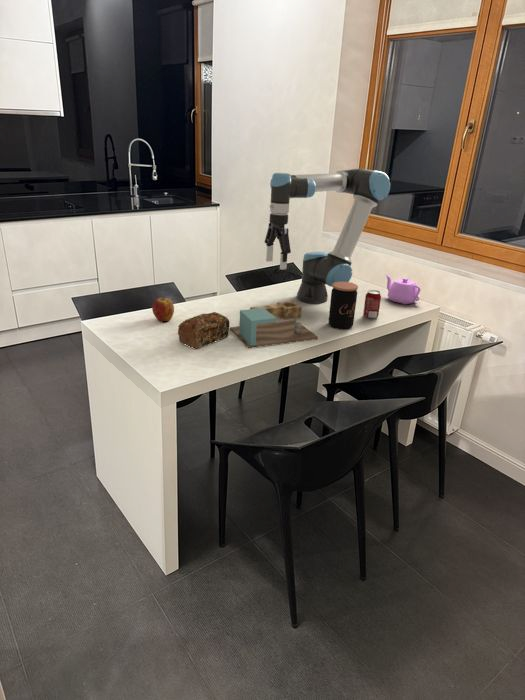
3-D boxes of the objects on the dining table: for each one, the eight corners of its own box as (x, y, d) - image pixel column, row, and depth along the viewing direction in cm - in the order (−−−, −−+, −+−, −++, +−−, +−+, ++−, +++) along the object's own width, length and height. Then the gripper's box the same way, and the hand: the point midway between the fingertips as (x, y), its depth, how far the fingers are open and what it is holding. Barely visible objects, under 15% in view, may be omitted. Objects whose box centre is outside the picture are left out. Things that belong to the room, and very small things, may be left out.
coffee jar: (337, 331, 206) (342, 290, 198) (323, 323, 214) (327, 282, 207) (358, 328, 211) (363, 287, 203) (343, 319, 219) (347, 280, 212)
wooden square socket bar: (255, 322, 211) (255, 311, 209) (248, 316, 218) (248, 305, 216) (300, 317, 219) (301, 306, 217) (292, 311, 226) (293, 301, 224)
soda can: (378, 320, 220) (381, 294, 215) (362, 318, 221) (366, 293, 217) (377, 315, 226) (381, 290, 221) (362, 313, 228) (366, 288, 223)
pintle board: (229, 329, 203) (230, 316, 200) (294, 321, 214) (295, 309, 212) (248, 348, 186) (248, 335, 184) (317, 338, 198) (318, 326, 195)
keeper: (239, 336, 196) (239, 310, 192) (262, 333, 200) (263, 307, 196) (250, 348, 186) (251, 320, 182) (274, 344, 190) (276, 318, 186)
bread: (196, 351, 182) (196, 325, 178) (176, 342, 188) (176, 318, 184) (230, 337, 196) (231, 313, 192) (211, 329, 202) (211, 306, 198)
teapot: (424, 302, 247) (428, 279, 242) (411, 308, 238) (416, 284, 233) (388, 293, 259) (391, 271, 254) (375, 298, 250) (378, 275, 245)
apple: (148, 320, 208) (147, 297, 204) (165, 315, 215) (165, 293, 210) (161, 326, 203) (160, 302, 199) (179, 320, 209) (178, 298, 205)
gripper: (258, 208, 209) (256, 258, 217) (284, 219, 188) (280, 273, 197) (274, 208, 212) (271, 257, 220) (301, 218, 191) (297, 272, 200)
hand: (276, 265), depth 209 cm, fingers open, 13 cm apart
